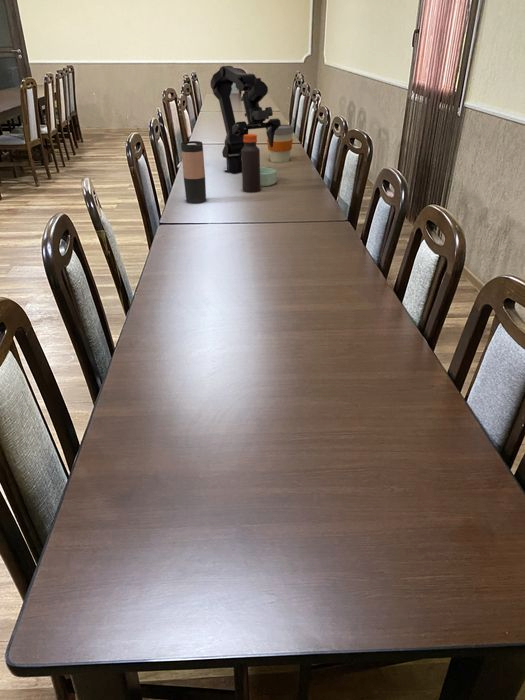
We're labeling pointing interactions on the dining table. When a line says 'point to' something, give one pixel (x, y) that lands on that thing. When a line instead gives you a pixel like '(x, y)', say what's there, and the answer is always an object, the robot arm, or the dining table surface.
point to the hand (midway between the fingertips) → (261, 148)
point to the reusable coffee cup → (281, 144)
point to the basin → (267, 176)
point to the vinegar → (250, 164)
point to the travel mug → (193, 171)
